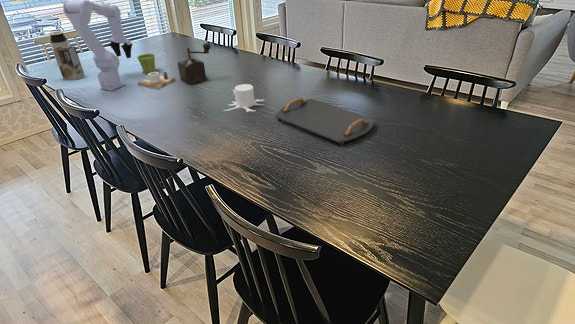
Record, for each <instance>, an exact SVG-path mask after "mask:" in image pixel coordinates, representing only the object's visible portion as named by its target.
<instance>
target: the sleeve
mask: <svg viewBox="0 0 575 324" xmlns="http://www.w3.org/2000/svg"><path fill="white" fill-rule="evenodd" d="M159 75H160V73H159V71H155V72H151V73H147V76H148V77H147V78H149V81H150V85H158V84H161V81H160V76H159Z"/></svg>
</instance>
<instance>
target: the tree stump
mask: <svg viewBox="0 0 575 324" xmlns="http://www.w3.org/2000/svg"><path fill="white" fill-rule="evenodd" d="M232 91H233V95H232V97H233V96H235V97H234V100H235V101H232V104H231V103H230V104H229V106H235V107H232V108H228V109H223V111H226V112H227V111H231V110H235V109H241V108H242V109H244V110H246V113H248V112H255V110H253V109H251V107H253V106H264V105H265V103H257V102H263V101H265V100H266V98H265V99H257V98H256V99H255V93H254V92H255V91H254V86H253V85H252V84H249V83H244V84H238V85H236V86H235V87H234V89H232Z"/></svg>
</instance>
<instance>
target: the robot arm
mask: <svg viewBox="0 0 575 324" xmlns="http://www.w3.org/2000/svg"><path fill="white" fill-rule="evenodd" d="M62 4H63V5H62V7H63V8H62V9H63V14H64V15H65V17H67V19H68V21H69V22H70V23H71V25H72V27H73V29H74V30H75V31H76V32H77V34H78V35H79V36H80V38H81V39H82V41H84V43H85V44H86V46H88V48H89V49H90V51H91V52H92V53H93V54H94V55H93V58H92V60H93V62H94V63H95V64H94V65H95V66H96V67H97V68H98V69H99V71H100V72H99V73H98V74H97V79H98V82H99V85H100V87H99V89H100V90H106V91H110V92H111V91H114V90H117V89H119V88H121V87H123V86H126V83H124V82H122V80H121V77H120V73H119V67H120V59H119V57H121V56H122V51H121V48H122V50H123V52H124V55H125V57H126V59H131V58H132V48H133V43H132V40H130V39H128V38H127V36H126V37H125V32H124V30H123V26H122V22H121V21H122V17H121V15H122V14H121V10H120V8H119V7H118V5H115V4H114V5H113V4H112V5H111V4H110V3H108V2H107V3H105V2H104V1H103V0H101V1H97V2H93V1H91V0H64V1H63V3H62ZM92 12H95V13H96V15H99V16H103V17H104V18H105V19H106V20H107V23H108V27H109V30H110V33H111V36H110V37H108V38H107V39H108V45H109V47H111V50H113V52H111V51H110V50H107V49H106V48H105V46H104V45H103V44H102V43H101V41H100V40H99V38H98V37H97V36H96V34H95V33H94V31H93V30H92V29H91V27H90V26H89V24H90V23H91V19H92ZM121 44H122V45H121Z"/></svg>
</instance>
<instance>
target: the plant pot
mask: <svg viewBox="0 0 575 324" xmlns="http://www.w3.org/2000/svg"><path fill="white" fill-rule="evenodd" d="M136 58H137V60H138V61H139V63H140V66H141V68H142V70H143V73H145V74H149V73H151V72H156V65H155V64H156V62H155V61H156V60H155V59H156V55H155V53H143V54H140V55H138V56H137V57H136Z"/></svg>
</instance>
